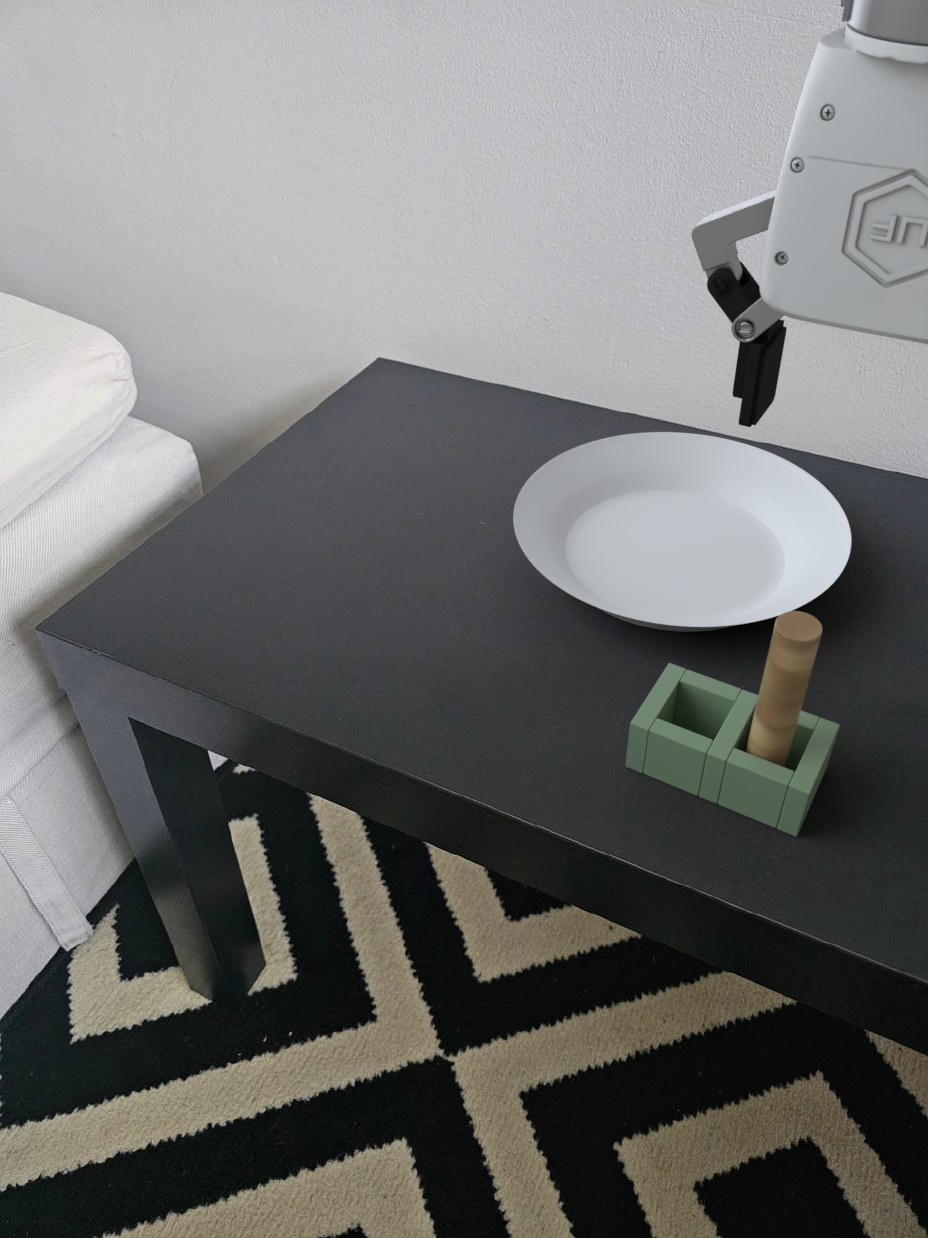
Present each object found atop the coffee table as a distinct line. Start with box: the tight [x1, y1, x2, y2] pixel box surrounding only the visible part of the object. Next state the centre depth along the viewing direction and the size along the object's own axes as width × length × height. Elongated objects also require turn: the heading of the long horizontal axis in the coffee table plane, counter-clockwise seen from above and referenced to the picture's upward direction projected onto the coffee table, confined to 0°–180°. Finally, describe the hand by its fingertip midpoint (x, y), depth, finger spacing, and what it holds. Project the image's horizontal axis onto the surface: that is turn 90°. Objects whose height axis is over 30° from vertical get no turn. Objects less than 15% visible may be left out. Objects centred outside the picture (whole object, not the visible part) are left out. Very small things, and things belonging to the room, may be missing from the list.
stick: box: [745, 610, 824, 768], centre depth 57 cm, size 2×2×13 cm
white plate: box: [512, 431, 852, 632], centre depth 77 cm, size 25×25×4 cm
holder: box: [625, 662, 841, 838], centre depth 61 cm, size 11×6×4 cm, turn 59°
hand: (861, 437), depth 45 cm, fingers open, 9 cm apart
